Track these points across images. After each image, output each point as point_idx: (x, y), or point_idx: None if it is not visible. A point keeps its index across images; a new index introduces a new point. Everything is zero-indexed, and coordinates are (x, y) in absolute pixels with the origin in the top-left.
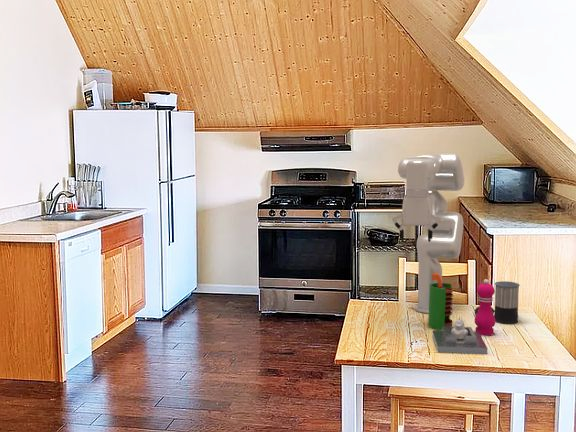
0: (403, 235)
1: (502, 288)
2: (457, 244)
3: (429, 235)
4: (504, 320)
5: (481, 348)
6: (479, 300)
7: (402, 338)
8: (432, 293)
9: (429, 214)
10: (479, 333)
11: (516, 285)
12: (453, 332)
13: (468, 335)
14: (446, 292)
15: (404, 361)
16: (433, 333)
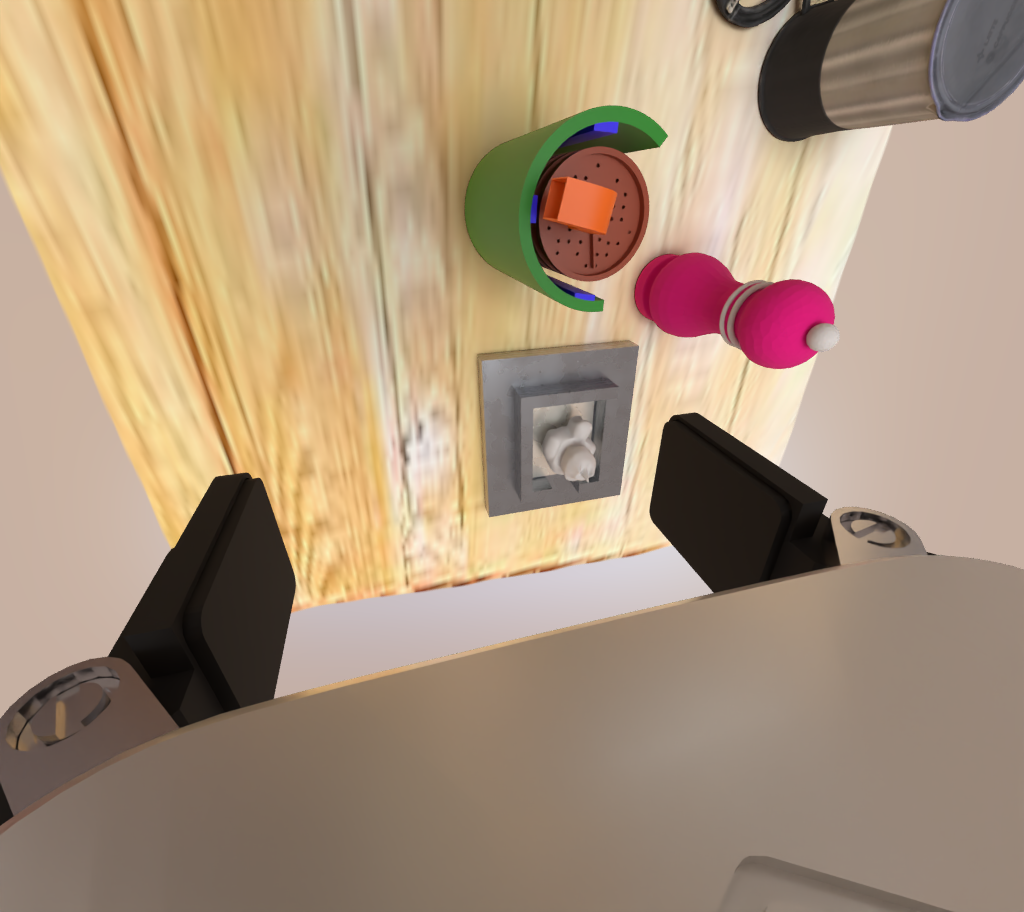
0: (276, 659)
1: (926, 102)
2: None
3: (706, 575)
4: (789, 134)
5: (604, 496)
6: (720, 330)
7: (368, 409)
8: (520, 270)
9: None
10: (642, 313)
11: (1019, 67)
12: (549, 464)
13: (595, 402)
14: (599, 279)
15: (397, 588)
16: (483, 394)
